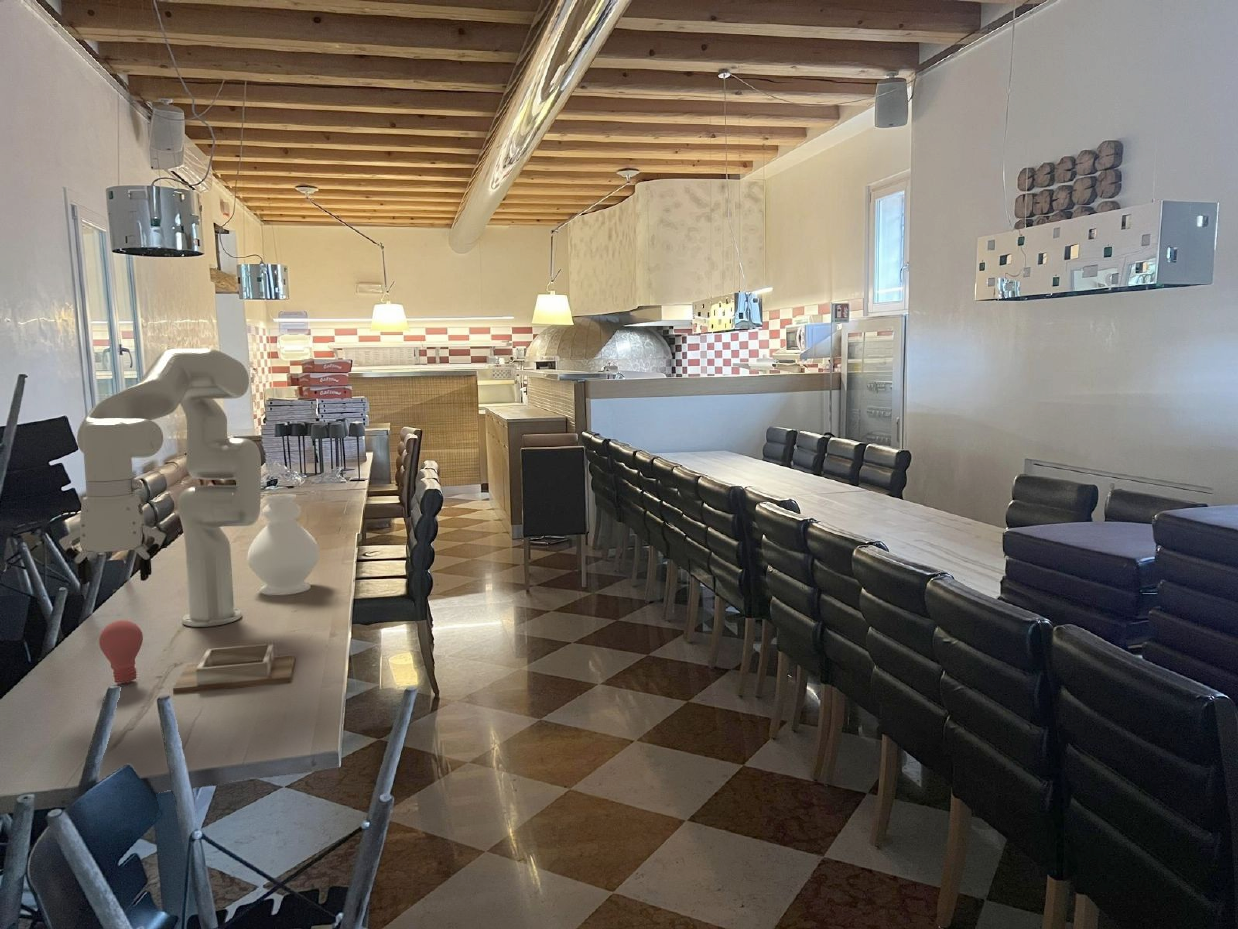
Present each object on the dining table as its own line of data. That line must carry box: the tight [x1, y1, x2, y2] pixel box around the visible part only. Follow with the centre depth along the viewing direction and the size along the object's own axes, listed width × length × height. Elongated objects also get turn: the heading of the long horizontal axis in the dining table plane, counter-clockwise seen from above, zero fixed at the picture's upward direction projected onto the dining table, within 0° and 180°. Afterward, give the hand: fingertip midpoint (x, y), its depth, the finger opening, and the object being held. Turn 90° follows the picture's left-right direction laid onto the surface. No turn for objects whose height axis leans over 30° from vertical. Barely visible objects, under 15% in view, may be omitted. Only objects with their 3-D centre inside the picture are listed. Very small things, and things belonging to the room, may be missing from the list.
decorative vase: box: [247, 493, 321, 596], centre depth 233 cm, size 18×18×25 cm
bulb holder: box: [172, 643, 297, 695], centre depth 169 cm, size 13×20×4 cm, turn 106°
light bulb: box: [98, 619, 144, 684], centre depth 165 cm, size 7×7×12 cm
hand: (116, 581), depth 163 cm, fingers open, 9 cm apart
